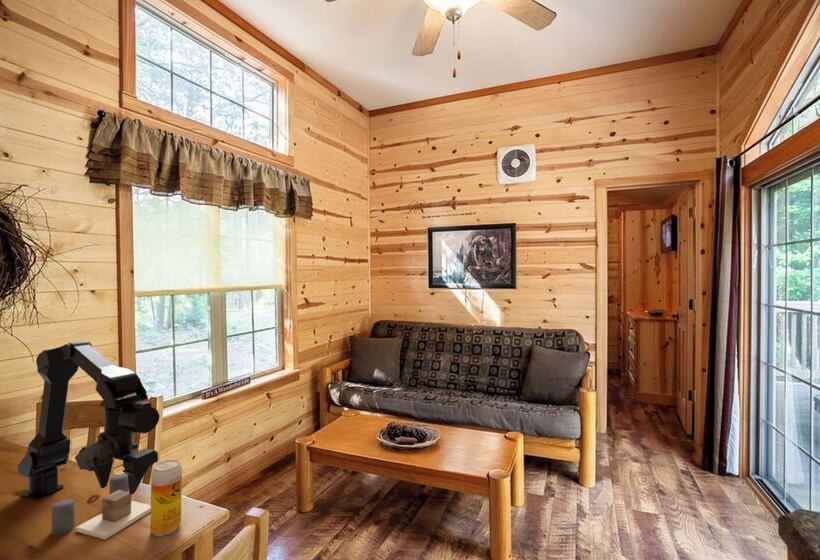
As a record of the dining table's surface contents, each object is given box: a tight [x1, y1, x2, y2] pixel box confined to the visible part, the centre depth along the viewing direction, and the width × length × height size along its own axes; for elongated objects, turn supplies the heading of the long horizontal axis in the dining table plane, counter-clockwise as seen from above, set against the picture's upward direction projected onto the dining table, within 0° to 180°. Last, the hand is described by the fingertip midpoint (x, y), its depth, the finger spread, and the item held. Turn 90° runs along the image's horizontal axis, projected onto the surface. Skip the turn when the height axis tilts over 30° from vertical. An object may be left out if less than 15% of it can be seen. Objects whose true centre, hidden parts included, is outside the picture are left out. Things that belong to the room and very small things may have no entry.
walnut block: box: [101, 490, 132, 522], centre depth 95 cm, size 4×4×5 cm
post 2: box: [108, 473, 129, 495], centre depth 104 cm, size 4×4×6 cm
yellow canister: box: [149, 459, 183, 537], centre depth 92 cm, size 6×6×15 cm
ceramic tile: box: [75, 500, 151, 540], centre depth 95 cm, size 9×12×1 cm
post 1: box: [50, 498, 76, 536], centre depth 91 cm, size 4×4×6 cm
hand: (117, 490), depth 95 cm, fingers open, 9 cm apart
